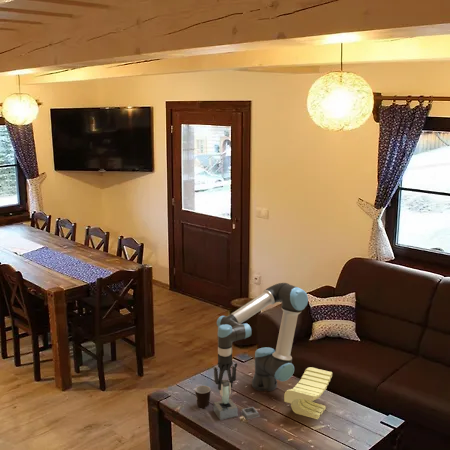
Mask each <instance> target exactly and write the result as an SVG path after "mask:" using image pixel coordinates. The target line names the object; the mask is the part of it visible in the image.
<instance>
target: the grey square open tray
mask: <svg viewBox="0 0 450 450" xmlns="http://www.w3.org/2000/svg"><path fill="white" fill-rule="evenodd" d="M240 414H241V415H242V416H243V417H244V418H245V419H246V420H250V419H254V418H255V419H256V418H258V417H261V415H260V413H259V411H258V410H257V409H256V408H255V407H254V406H250V407H249V406H248V407H245V408H241V411H240Z"/></svg>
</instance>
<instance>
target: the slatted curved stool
mask: <svg viewBox="0 0 450 450" xmlns="http://www.w3.org/2000/svg"><path fill="white" fill-rule="evenodd" d="M332 377H333V372H332V371H328V370H324V369H320V368H317V367H313V366H312V367H310V366H309V367H307V368H305V370H304V373H303V374H302V376H301V377H300V380H299V381H298V382H297V383H296V385H294V387H293V388H290V389H286V390H285V392H284V395H283V397H284V398H283V402H284V403H286V404H287V403H288V404H290V406H291V407H290V408H291V410H292V411H293V413H294V414H296V415H300V416H304V417H308V418H312V419H315V420H319V419H320V417H321V416H322V414H323V413H324V412H325V410H326V409H327V406H326V405H324V404H321V403H317V402H315V400H318V399H320V398H321V395H323V393H324V392H326V390H327V388H328V386H329V383H330V382H331V379H332Z"/></svg>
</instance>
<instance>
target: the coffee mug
mask: <svg viewBox="0 0 450 450" xmlns="http://www.w3.org/2000/svg"><path fill="white" fill-rule="evenodd" d="M194 392H195V398H196V399H195V400H196V406H197V408H198V409H201V410H203V409H206V407H208V406H209V405H210V398H211V387H210V386H207V385H198V386H196V388H195V389H194Z"/></svg>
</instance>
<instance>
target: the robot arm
mask: <svg viewBox="0 0 450 450" xmlns="http://www.w3.org/2000/svg"><path fill="white" fill-rule="evenodd" d="M276 303H281V306H280V308H281V310H282V317H281V320H280V327H279V331H278V332H279V333H278V335H277V342H276V347H275V349H274V347H273V348H272V347H269V346H268V347H261V348H258V349H256V350H255V352H254V374H253V377H252V380H251V387H252V388H253V389H254V390H255V391H259V392H264V391H267V392H272V391H274V390H275V389H277V387H278V381H279V382H286V381H288V380H289V379H290V378H292V376H293V374H294V373H295V366H294V364H293V363H292V362H293V357H292V355H291V352H292V347H293V343H294V337H295V332H296V327H297V322H298V317H299V315H300V314H301V313H302V311H303V310H305V308H306V307H307V306H308V303H309V296H308V293H307V292H306V291H305V290H304V289H302V288H300V287H298V286H295V285H292V284H290V283H287V282H279V283H276V284H275V283H274V284H273V285H271V286H269V287H267V288H266V289H264V290H263V292H262V293H261V294H259V295H258V296H257V297H255V298H254V299H251V300H250V301H248V302H247V303H245V304H244V305H242V306H241V307H239V308H238V309H236V310H235V311H233V312H231V313H230V314H229V315H227V316H226V315H221V316H219V317H218V318H217V320H216V326H217V364H216V365H213V366H212V369H213V377H214V379H213V380H214V383H215V384H216V385H217V389H218V390H219V395H220V396H221V397H222V396H223V385H222V380H223V378H224V377H223V376H224V373H225V371H226V373H227V377H228V381H229V395H231V394H232V388H233V383H234V382H235V381H236V380H237V379H236V378H237V366H238V364H237V362H235V361H233V342H236V341H240V340H246V339H247V338H249V337H251V336H252V327H251V326H250V324H248V323H247V322H246V321H248V320H249V319H250V318H251V317H253V316H254V315H255V316H256V314H257V313H259V312H261V311H263V310H264V309H265V308H267V307H268V306H270V305H272V306H273V305H274V304H276ZM244 322H246V323H244ZM231 368H232V369H231ZM218 370H219V371H218ZM218 372H219V373H218Z"/></svg>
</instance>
